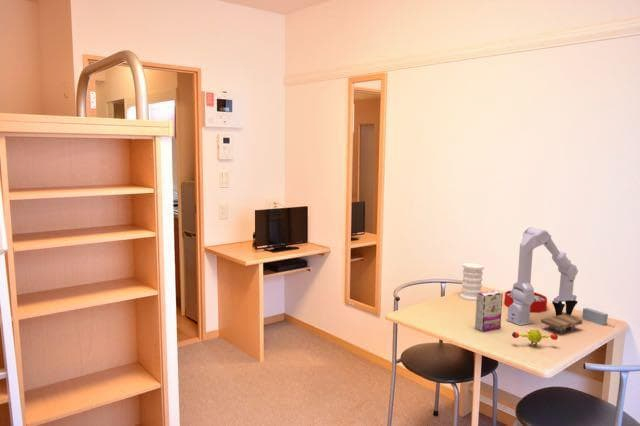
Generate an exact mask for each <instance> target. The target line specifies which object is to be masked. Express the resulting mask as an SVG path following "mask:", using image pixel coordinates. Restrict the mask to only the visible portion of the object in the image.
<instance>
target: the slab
mask: <svg viewBox="0 0 640 426" xmlns="http://www.w3.org/2000/svg"><path fill="white" fill-rule="evenodd" d="M540 323H541V324H544V325H547V326H548V327H549V326H552V327H555V328H558V329H563V328H567V327H571V326H575V327H576V326H579V325H582V324H583V319H579V318H576V317H573V316H572V317H570V316H567V315H564V314H563V315H559V316H556V315H555V316H550V317H545V318H541V321H540Z"/></svg>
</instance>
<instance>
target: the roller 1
mask: <svg viewBox="0 0 640 426" xmlns="http://www.w3.org/2000/svg"><path fill="white" fill-rule="evenodd" d="M548 328H549V330H552V331H555V332H558V333H561V334H564V333H565V332H566V330H567V329H566V328H563V329H558V328H555V327H552V326H549V325H548Z"/></svg>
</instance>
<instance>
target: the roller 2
mask: <svg viewBox="0 0 640 426" xmlns="http://www.w3.org/2000/svg"><path fill="white" fill-rule="evenodd" d="M568 329H569V331H571V330H573V331H574V330H575V329H576V325H575V326H571V327H567V328H566V329H565V330H568Z"/></svg>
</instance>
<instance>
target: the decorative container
mask: <svg viewBox="0 0 640 426" xmlns="http://www.w3.org/2000/svg"><path fill="white" fill-rule="evenodd" d="M462 268H463V271H462V273H463V275H462V283H461V285H462V287H461V293H460V294H459V298H461V299H463V300H465V301H470V302H477V293H481V292H482V286H483V284H482V281H483V277H482V276H483V273H484V272H483V270H484V269H485V266H484V265H483V264H480V263H474V262H463V263H462Z"/></svg>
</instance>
